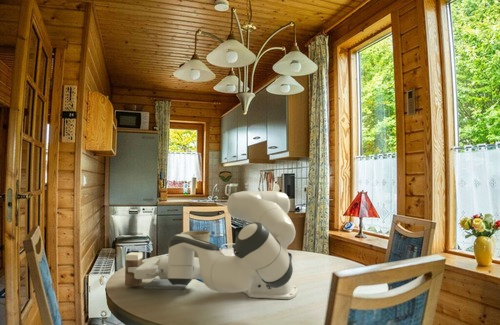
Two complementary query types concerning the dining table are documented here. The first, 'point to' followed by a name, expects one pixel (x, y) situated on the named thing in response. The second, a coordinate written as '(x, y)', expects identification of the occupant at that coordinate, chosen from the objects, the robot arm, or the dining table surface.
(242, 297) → the dining table surface
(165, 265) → the robot arm
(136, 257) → the walnut block
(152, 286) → the grey mat
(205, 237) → the plant pot
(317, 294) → the dining table surface
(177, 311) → the dining table surface
